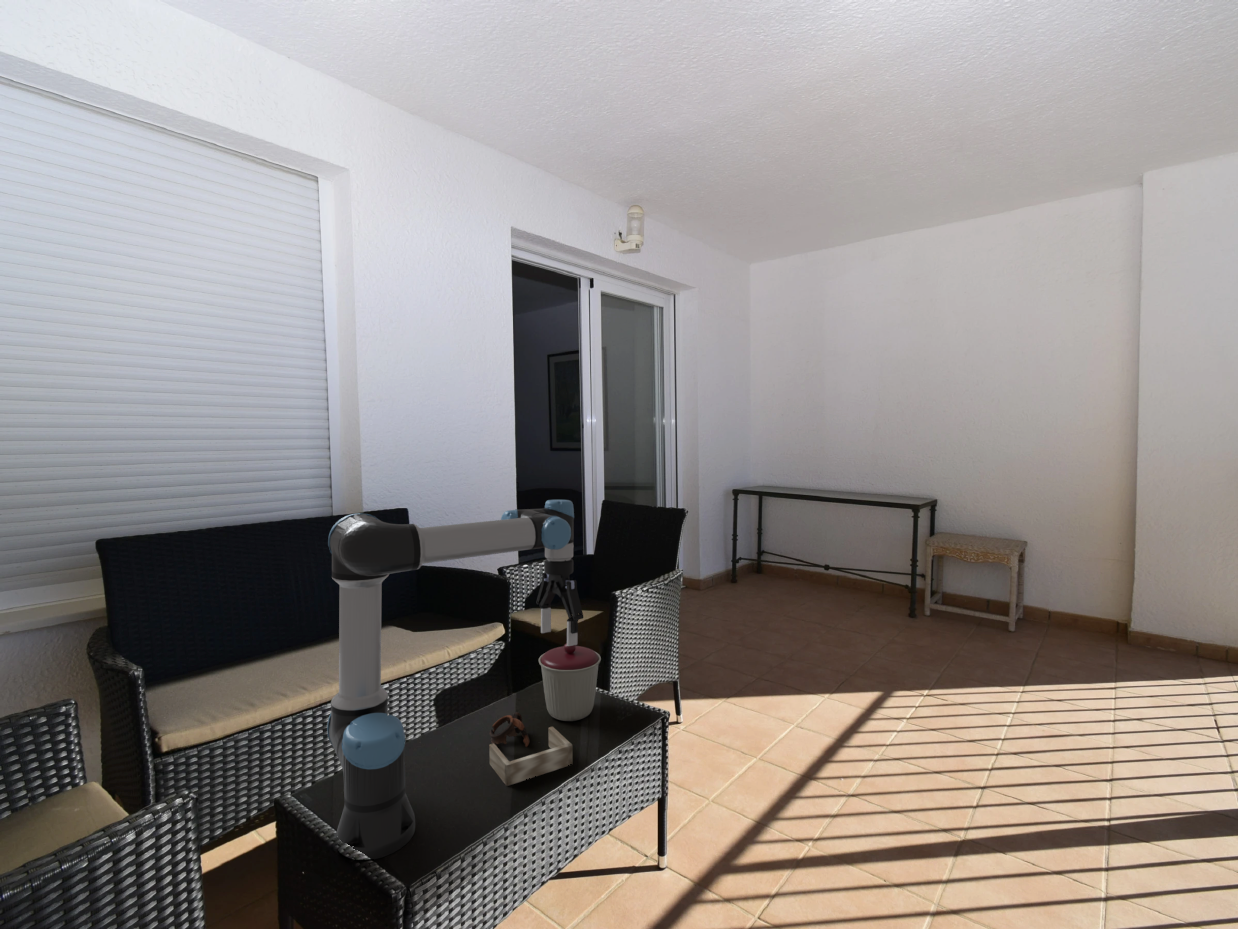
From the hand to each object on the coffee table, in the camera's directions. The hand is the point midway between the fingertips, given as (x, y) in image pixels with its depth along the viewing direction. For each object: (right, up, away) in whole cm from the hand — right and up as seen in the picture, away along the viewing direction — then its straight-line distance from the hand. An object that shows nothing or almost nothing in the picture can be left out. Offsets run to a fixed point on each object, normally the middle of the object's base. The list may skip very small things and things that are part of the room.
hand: (558, 638), depth 164 cm
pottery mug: (-13, -28, +1) cm, 31 cm away
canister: (+2, -27, +18) cm, 32 cm away
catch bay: (-6, -29, -10) cm, 31 cm away
